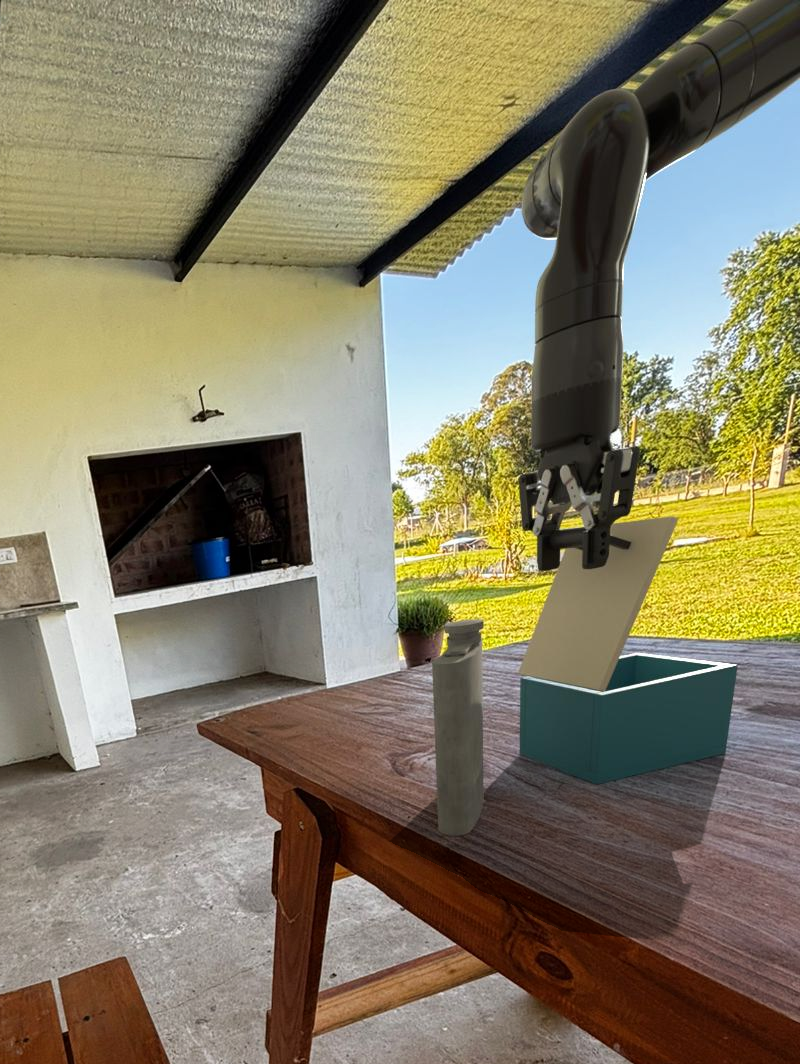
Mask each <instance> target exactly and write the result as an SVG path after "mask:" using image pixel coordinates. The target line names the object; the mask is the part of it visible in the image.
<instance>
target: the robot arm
mask: <svg viewBox="0 0 800 1064" xmlns="http://www.w3.org/2000/svg"><path fill="white" fill-rule="evenodd" d="M799 80H800V0H753V1H751V2H750V3H747V5H744V7H742V8H740V9H739V10H737V11H736V12H734V13H733V14H732V15H730V16H728V17H727V18H725V19H724V20H723V21H721V22H719V23H718V24H716V25H714V26H713V27H711V28H710V29H708V30H707V31H706V32H705V33H703V34H700V36H698V37H697V38H695V39H694V40H692V41H691V42H690V43H688V44H687V45H685V46H683V47H682V48H680V49H679V50H678V51H676V52H675V53H673V55H671V56H670V57H668V58H667V59H666V60H665V61H664V62H662V63H661V64H660V65H659V66H658V67H656V68H655V69H654V70H653V71H652V72H651V73H650V74H649V75H648V76H647V77H646V78H645V79H644V80H643V81H642V82H641V84H640V85H638V87H636V88H635V89H634V90H633V91H630V90H627V89H623V88H613V89H609V90H605V91H603V92H600V93H599V94H598V95H596V96H594V97H593V98H592V99H590V100H589V101H588V102H587V103H586V104H585V105H583V106H582V107H581V108H580V109H579V111H578V112H576V113H575V115H574V116H573V117H572V118H571V119H570V121H568V123H567V124H566V125H565V126H564V128H563V129H562V130H561V131H560V133H559V134H558V135H557V136H556V137H555V138H554V140H553V141H552V142H551V143H550V145H549V146H547V148H546V149H545V150H544V151H543V152H542V154H541V155H540V156H539V158H538V159H537V161H536V162H535V163H534V165H533V167H532V169H531V171H530V172H529V175H528V176H527V179H526V183H525V184H524V187H523V191H522V195H521V204H520V205H521V216H522V220H523V223H524V225H525V227H526V228H527V230H528V231H529V232H530V233H531V234H532V235H533V236H536V237H537V238H539V239H540V238H541V239H543V240H555V244H554V245H555V246H554V251H553V254H552V256H551V258H550V261H549V263H548V264H547V266H546V268H545V269H544V271H543V272H542V274H541V276H540V278H539V280H538V282H537V286H536V291H535V299H534V300H535V303H534V353H533V362H532V368H531V408H530V409H531V410H530V411H531V412H530V413H531V414H530V417H531V419H530V420H531V421H530V423H531V425H530V427H531V428H530V442H531V443H530V447H531V450H532V451H534V452H539V453H540V460H539V463H538V467H537V469H535V470H534V471H531V472H526V473H522V474H520V475H519V477H518V491H519V493H518V494H519V504H520V506H519V507H520V517H521V529H522V531H523V532H532V534H533V535H534V536H535V537H536V563H537V570H538V571H539V572H547V571H552V570H558V567H559V566H560V562H561V549H553V548H552V547H551V546H550V537H551V535H552V533H553V532H554V531H556V530H559V529H561V526H562V523H563V520H564V516H565V514H566V513H567V512H568V511H569V510H570V509H571V507H572V508H573V509H574V511H576V512H579V515H580V518H581V521H582V525H583V527H585V529H586V530H588V531H583V551H582V568H583V569H594V568H599V567H603V566H605V564H606V563H607V559H608V556H609V544H610V528H611V525H612V524H613V523H616V522H615V521H618V520H619V519H621V518H624V517H627V516H628V515H630V513H631V510H632V504H633V497H634V492H635V485H636V479H637V473H638V466H639V459H640V453H641V449H640V447H639V446H638V445H633V446H628V447H623V448H618V449H614V448H613V446H612V442H611V435H612V434H614V433H616V432H617V431H618V430H619V428H620V423H621V404H622V387H623V385H622V383H623V367H624V366H623V364H624V336H623V320H622V315H623V313H622V312H623V299H624V298H623V294H624V278H625V277H624V275H625V273H624V272H625V271H624V270H625V269H624V266H625V260H626V256H627V252H628V248H629V245H630V242H631V238H632V235H633V231H634V227H635V223H636V218H637V215H638V210H639V207H640V202H641V199H642V195H643V190H644V186H645V182H646V181H648V180H649V179H650V178H652V177H654V176H655V175H657V174H658V173H659V172H661V171H663V170H664V169H666V168H668V167H669V166H672V165H673V164H675V163H677V162H678V161H681V160H682V159H684V158H686V157H687V156H689V155H690V154H692V153H694V152H695V151H697V150H699V149H700V148H702V147H704V146H705V145H706V144H708V143H709V142H711V141H713V140H714V139H716V138H717V137H719V136H720V135H722V134H724V133H725V132H727V131H728V130H730V129H731V128H733V127H734V126H736V125H737V124H738V123H740V122H741V121H743V120H745V119H747V117H749V116H750V115H752V114H753V113H755V112H757V111H758V110H759V109H760V108H762V107H763V106H765V105H766V104H768V103H769V102H771V101H772V100H773V99H775V98H776V97H777V96H778V95H780V94H781V93H782V92H784V91H785V90H787V89H788V88H789V87H791V86H792V85H793V84H795V83H796V82H797V81H799ZM617 492H618V498H617V502H616V503H617V504H614V503H615V497H616V496H615V495H616V493H617ZM533 507H534V512H536V517H533ZM595 508H596V510H597V512H595ZM550 516H551V518H550Z"/></svg>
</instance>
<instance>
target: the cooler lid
mask: <svg viewBox="0 0 800 1064" xmlns="http://www.w3.org/2000/svg"><path fill="white" fill-rule="evenodd" d="M678 522H679V518H678V517H676V516H673V515H671V516H662V517H655V518H654V517H653V518H646V519H639V520H630V521H621V522H614V523H613V524H612V525H611V528H610V544H609V556H608V559H607V563H606V564H605V566H603V567H599V568H594V569H583V568H582V551H583V531H588V530H586V529H585V527H584V526H576V527H568V528H560V529H559V530H556V531H554V532H553V533H552V535H551V537H550V546H551V547H552V548H553V549H560V550H564V552H563V554H562V557H561V558H560V566H559V567H558V568H557V569H556V572H555V575H554V578H553V580H552V583H551V586H550V588H549V591H548V593H547V596H546V598H545V601H544V604H543V606H542V609H541V611H540V614H539V617H538V620H537V621H536V625H535V628H534V630H533V633H532V636H531V637H530V640H529V643H528V647H527V649H526V651H525V654H524V656H523V659H522V662H521V664H520V667H519V669H518V672H517V674H518V675H521V676H525V677H527V676H530V677H535V678H540V679H545V680H550V681H555V682H560V683H565V684H570V685H574V686H579V687H584V688H589V689H594V690H599V691H605V690H606V688H607V685H608V683H609V681H610V678H611V676H612V674H613V671H614V669H615V667H616V664H617V662H618V660H619V657H620V656H622V652H623V649H624V648H625V646H626V643H627V640H628V639H629V636H630V634H631V632H632V629H633V627H634V625H635V622H636V620H637V618H638V615H639V612H640V610H641V608H642V605H643V603H644V601H645V599H646V597H647V594H648V591H649V589H650V587H651V585H652V582H653V581H654V577H655V576H656V573H657V571H658V568H659V566H660V564H661V562H662V559H663V556H664V555H665V552H666V549H667V547H668V545H669V542H670V540H671V538H672V535H673V533H674V531H675V528H676V526H677V524H678Z"/></svg>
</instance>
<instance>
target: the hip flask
mask: <svg viewBox="0 0 800 1064" xmlns="http://www.w3.org/2000/svg"><path fill="white" fill-rule="evenodd" d="M484 623H485V621H484V619H480V618H472V619H471V618H470V619H462V620H456V621H450V622H448V623H445V624H444V626H443V627H444V633H445V634H447V635H448V636H446V645H447V648H446V649H445V651H444V652H443V653H442V654H440V655H439V656H438V657H437V658H435V659H433V660H432V661H431V668H432V669H431V672H432V698H433V722H434V725H433V726H434V727H433V728H434V748H435V749H434V750H435V775H436V778H435V779H436V804H437V805H436V807H437V830H438V832H440V833H441V834H443V835H446V836H451V837H459V836H465V835H467V834H469V833H471V832H472V830H473V829H474V827H475V826H476V825H477V823H478V821H479V819H480V816H481V814H482V810H483V806H484V798H485V797H484V795H485V793H484V699H483V698H484V694H483V693H484V692H483V691H484V689H483V686H484V685H483V683H484V682H483V679H484V678H483V674H484V673H483V638H482V632H480V631H481V630H483V629H484V625H485V624H484Z"/></svg>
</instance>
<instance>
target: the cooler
mask: <svg viewBox="0 0 800 1064" xmlns="http://www.w3.org/2000/svg"><path fill="white" fill-rule="evenodd" d="M738 666H739V665H738V664H734V663H733V664H731V663H724V662H716V661H708V660H700V659H692V658H683V657H676V656H669V655H668V656H667V655H659V654H650V653H643V652H634V653H629V654H624V655H620V657H619V660H618V662H617V664H616V667H615V669H614V671H613V674H612V676H611V678H610V681H609V683H608V685H607V688H606V690H605V691H599V690H594V689H589V688H584V687H579V686H574V685H570V684H565V683H560V682H555V681H550V680H545V679H540V678H535V677H530V676H523V677H520V679H519V682H520V683H519V685H520V688H519V755H521V756H524V757H526V758H529V759H531V760H533V761H536V762H538V763H541V764H544V765H546V766H549V767H552V768H554V769H557V770H558V771H562V772H564V773H566V774H569V775H571V776H575V777H577V778H579V779H582V780H584V781H587V782H589V783H592V784H595V785H599V784H603V783H607V782H612V781H616V780H619V779H620V780H621V779H625V778H628V777H633V776H638V775H641V774H644V773H650V772H654V771H657V770H662V769H666V768H671V767H675V766H679V765H684V764H687V763H692V762H696V761H700V760H704V759H709V758H712V757H717V756H721V755H725V754H727V747H728V746H727V745H728V740H729V733H730V724H731V717H732V709H733V703H734V695H735V689H736V682H737V681H736V680H737V673H738V668H739V667H738Z"/></svg>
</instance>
